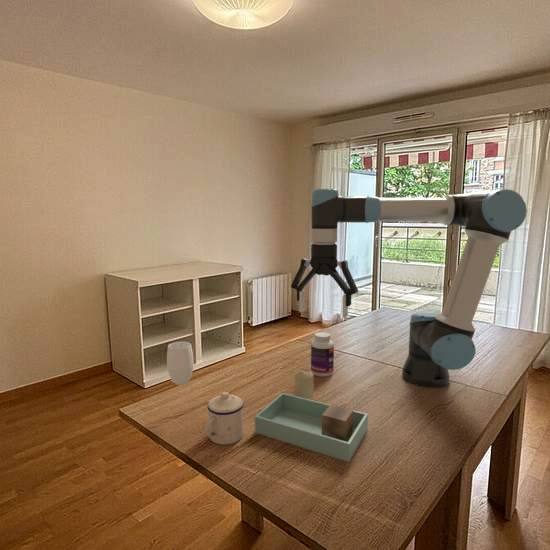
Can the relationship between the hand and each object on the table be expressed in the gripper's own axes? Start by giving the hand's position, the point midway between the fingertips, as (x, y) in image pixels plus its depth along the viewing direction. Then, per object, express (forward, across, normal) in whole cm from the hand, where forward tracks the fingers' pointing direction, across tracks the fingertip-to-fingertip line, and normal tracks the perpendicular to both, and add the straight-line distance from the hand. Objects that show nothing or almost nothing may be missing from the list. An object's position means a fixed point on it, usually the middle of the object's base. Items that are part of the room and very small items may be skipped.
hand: (323, 314), depth 116 cm
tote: (+27, -5, +20) cm, 34 cm away
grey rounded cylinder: (+27, +31, +28) cm, 50 cm away
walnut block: (+26, -12, +20) cm, 35 cm away
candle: (+27, +4, +4) cm, 28 cm away
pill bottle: (+27, +7, -18) cm, 33 cm away
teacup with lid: (+27, +14, +32) cm, 44 cm away
